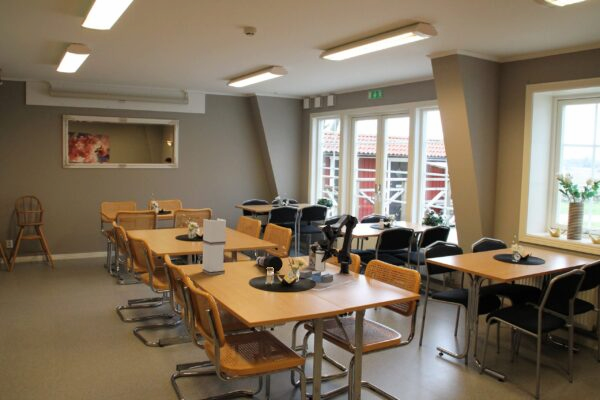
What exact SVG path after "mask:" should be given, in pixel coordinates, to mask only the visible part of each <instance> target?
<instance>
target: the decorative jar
mask: <svg viewBox="0 0 600 400" xmlns="http://www.w3.org/2000/svg"><path fill="white" fill-rule="evenodd" d="M317 243H318V241H315V242H314V244H310V245H309V247H308V249H309V251H308V253H309V254H308V270H310V269H311V270H313V269H314V270H315V264H316V261H315V260H316V254H314V253H313V251H312V250H311V246H312V245H315V246H318V248H321V247H320V245H319V244H317ZM326 261H327V260H325V261H324V270H326Z"/></svg>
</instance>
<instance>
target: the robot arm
mask: <svg viewBox="0 0 600 400" xmlns="http://www.w3.org/2000/svg"><path fill="white" fill-rule="evenodd" d="M358 221H359V219H358V218H357V216H353V215H351V214H349V213H348V214H347V213H343V214H342V216H341V217H340V218H339V219H338V221H337V222H336V223H333V224H326V225H325V226H323V227H322V229H321V230H322V233H323V235H324V237H325V238H326V239H324V238H318V241H317V242H318V243H317V244H319V245H320V247H321V248H318V246H315V245H312V244H311V245H312V246H311V250H312V251H313V253H314V254H316V251H319V250H320V251H325V255H324V257H323V258H322V261H321V262H324V261H325V260H326V261H327V260H329V259H331V258H333V257H334V258H337V264H340V270H339V273H340V274H350V265H352V264H353V260H352V257H351V252H350V246H351V241H352V236H353V233H354V232H353V231H354V229H355V228H356V227H357V224H358ZM344 227H345V233H344V237H343V243H342V248H341V249H339V250H338V249H337V248H334V244H335V242H338V238H337V236H341V234H342V231H343V230H342V229H343V228H344ZM315 261H316V260H315Z"/></svg>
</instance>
